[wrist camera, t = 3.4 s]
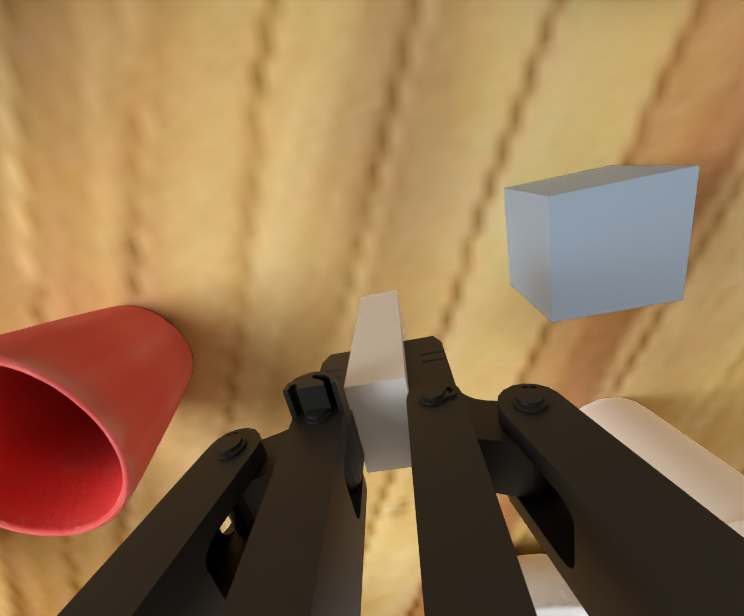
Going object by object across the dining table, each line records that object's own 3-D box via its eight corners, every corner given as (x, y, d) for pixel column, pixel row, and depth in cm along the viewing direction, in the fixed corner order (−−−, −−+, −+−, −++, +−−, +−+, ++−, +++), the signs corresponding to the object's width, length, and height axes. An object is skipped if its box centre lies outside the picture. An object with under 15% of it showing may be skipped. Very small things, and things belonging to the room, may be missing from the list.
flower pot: (193, 276, 23) (73, 348, 14) (230, 413, 27) (155, 537, 18) (38, 285, 23) (-175, 360, 14) (97, 418, 28) (-41, 541, 19)
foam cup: (561, 373, 25) (729, 566, 13) (691, 382, 25) (978, 584, 13) (530, 473, 29) (639, 698, 17) (643, 481, 29) (834, 711, 17)
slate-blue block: (503, 188, 21) (548, 196, 15) (610, 165, 20) (699, 165, 14) (510, 284, 23) (551, 322, 17) (607, 266, 22) (683, 299, 17)
